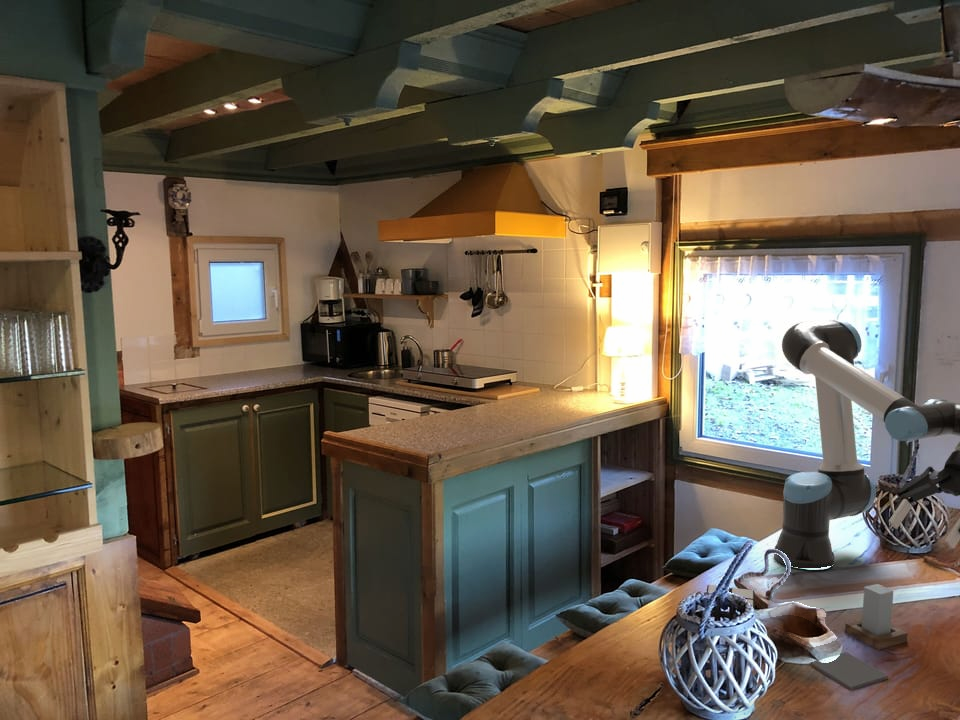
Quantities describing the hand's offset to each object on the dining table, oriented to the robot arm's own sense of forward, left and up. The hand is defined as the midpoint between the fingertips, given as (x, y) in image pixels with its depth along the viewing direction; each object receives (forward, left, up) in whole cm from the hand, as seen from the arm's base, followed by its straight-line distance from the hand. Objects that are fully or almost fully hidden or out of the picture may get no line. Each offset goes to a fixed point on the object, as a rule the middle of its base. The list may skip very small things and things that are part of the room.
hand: (919, 534), depth 170 cm
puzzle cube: (-13, -41, -22) cm, 48 cm away
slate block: (-1, -11, -22) cm, 24 cm away
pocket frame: (-1, -11, -22) cm, 24 cm away
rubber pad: (+7, -28, -22) cm, 36 cm away
